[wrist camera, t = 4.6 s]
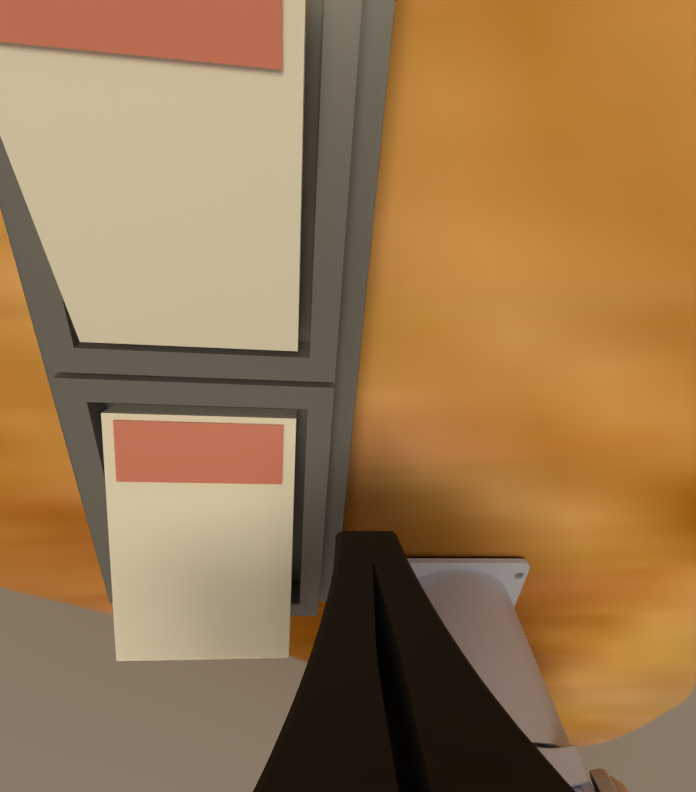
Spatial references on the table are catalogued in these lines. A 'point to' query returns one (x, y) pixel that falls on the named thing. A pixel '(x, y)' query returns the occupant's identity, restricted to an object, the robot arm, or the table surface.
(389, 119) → the table surface
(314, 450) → the switch box
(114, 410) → the rocker far
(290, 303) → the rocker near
